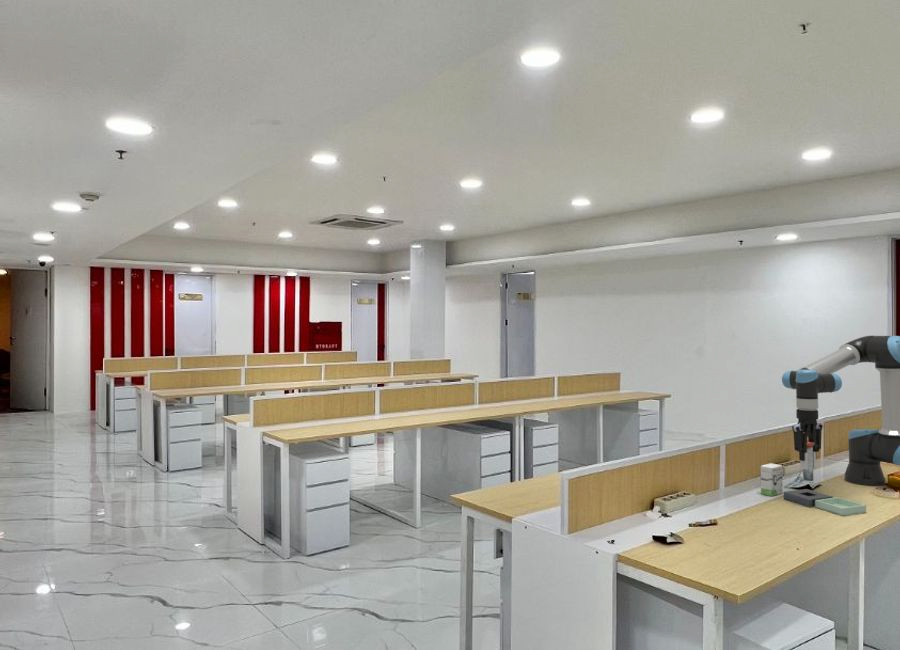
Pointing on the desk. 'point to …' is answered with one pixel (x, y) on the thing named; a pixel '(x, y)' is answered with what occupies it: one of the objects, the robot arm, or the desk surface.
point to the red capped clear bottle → (809, 462)
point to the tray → (840, 506)
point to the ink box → (771, 479)
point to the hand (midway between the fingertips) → (808, 468)
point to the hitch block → (804, 497)
